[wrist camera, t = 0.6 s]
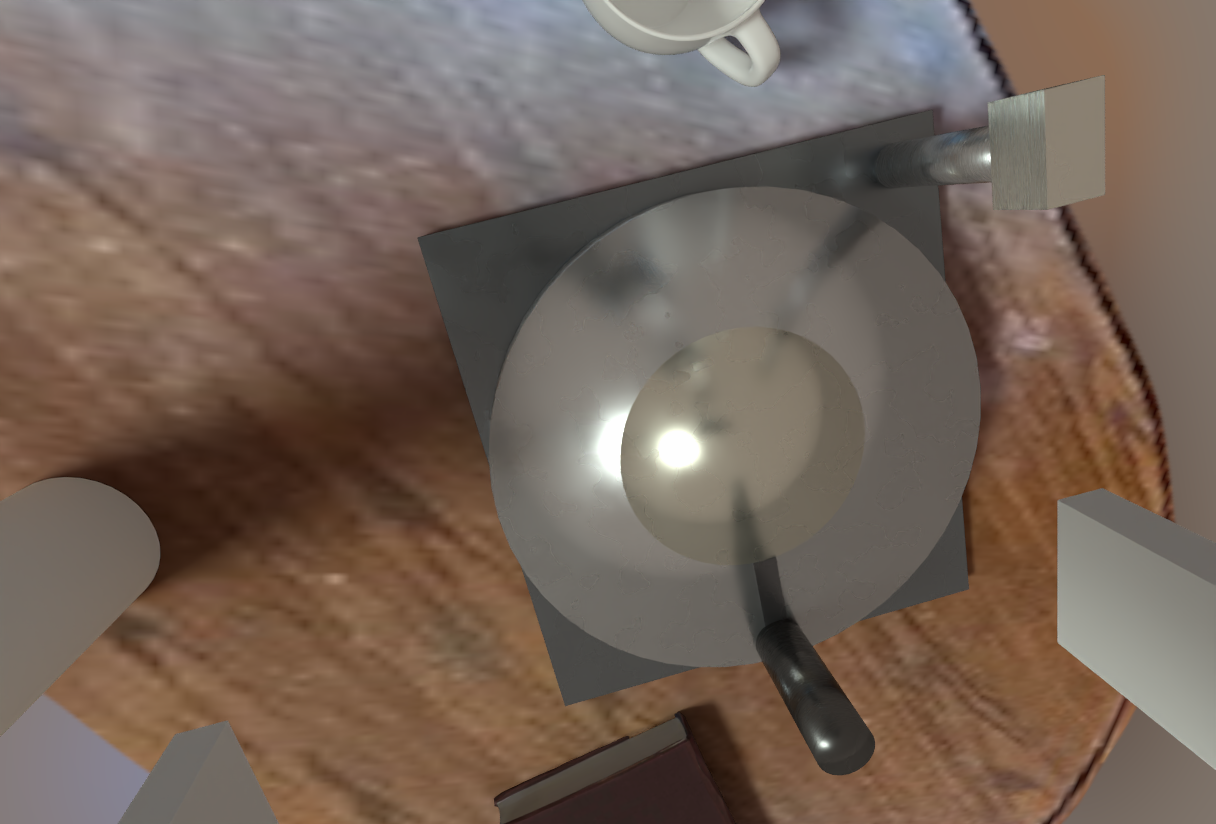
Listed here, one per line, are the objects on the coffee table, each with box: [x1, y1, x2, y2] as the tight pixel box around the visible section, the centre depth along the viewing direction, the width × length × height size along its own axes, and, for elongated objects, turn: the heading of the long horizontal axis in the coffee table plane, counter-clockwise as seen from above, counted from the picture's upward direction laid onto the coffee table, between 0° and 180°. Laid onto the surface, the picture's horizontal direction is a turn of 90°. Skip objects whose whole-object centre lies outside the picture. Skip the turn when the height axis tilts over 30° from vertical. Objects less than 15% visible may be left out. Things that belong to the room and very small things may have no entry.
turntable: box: [489, 186, 981, 775], centre depth 29 cm, size 24×24×10 cm
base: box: [418, 75, 1105, 706], centre depth 29 cm, size 26×24×12 cm
